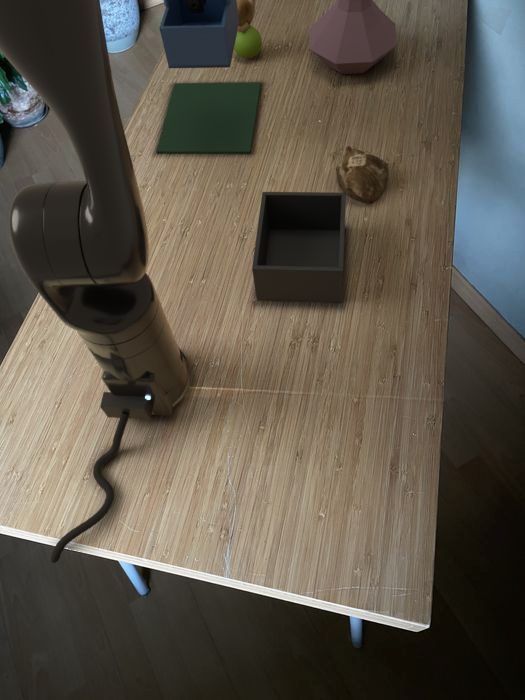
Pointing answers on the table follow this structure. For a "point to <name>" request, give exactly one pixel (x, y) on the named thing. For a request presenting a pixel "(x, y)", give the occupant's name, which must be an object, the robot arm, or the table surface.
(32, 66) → the robot arm
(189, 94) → the green mat
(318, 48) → the flask
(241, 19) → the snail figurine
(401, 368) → the table surface
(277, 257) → the charcoal bin
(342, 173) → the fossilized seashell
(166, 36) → the blue bin
